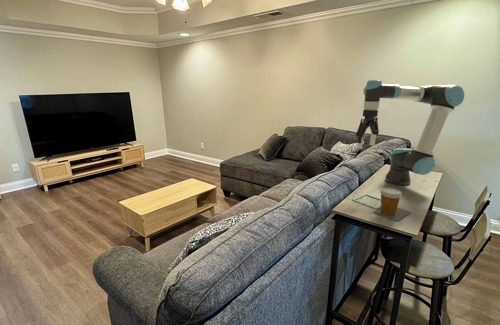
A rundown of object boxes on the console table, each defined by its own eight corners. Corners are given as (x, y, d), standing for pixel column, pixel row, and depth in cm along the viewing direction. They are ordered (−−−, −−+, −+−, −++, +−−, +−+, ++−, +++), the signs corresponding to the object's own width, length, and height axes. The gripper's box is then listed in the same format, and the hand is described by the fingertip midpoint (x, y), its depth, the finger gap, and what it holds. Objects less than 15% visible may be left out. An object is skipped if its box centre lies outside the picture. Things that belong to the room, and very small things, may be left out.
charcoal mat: (387, 205, 143) (387, 204, 143) (410, 213, 134) (411, 212, 134) (372, 212, 135) (373, 211, 134) (397, 221, 125) (397, 220, 125)
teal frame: (365, 194, 158) (365, 193, 158) (389, 202, 147) (390, 201, 147) (351, 200, 149) (352, 199, 149) (376, 209, 138) (376, 208, 138)
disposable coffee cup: (402, 216, 130) (406, 193, 126) (386, 218, 128) (389, 195, 124) (389, 207, 139) (392, 186, 135) (373, 209, 137) (376, 188, 133)
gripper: (375, 108, 156) (371, 143, 161) (351, 109, 141) (347, 148, 147) (388, 108, 150) (383, 145, 156) (365, 110, 135) (360, 151, 141)
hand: (365, 147), depth 151 cm, fingers open, 13 cm apart
